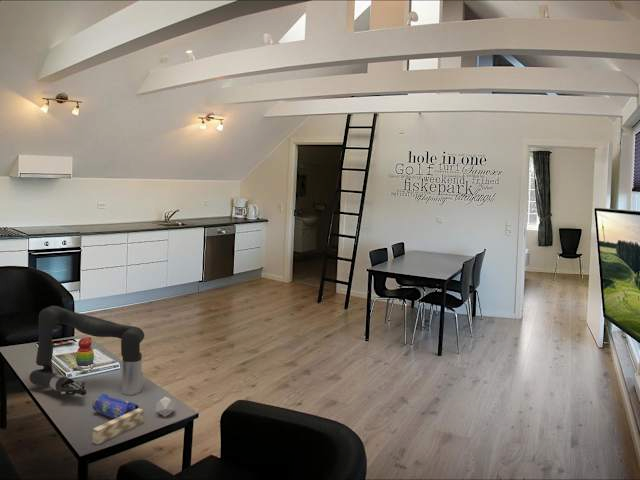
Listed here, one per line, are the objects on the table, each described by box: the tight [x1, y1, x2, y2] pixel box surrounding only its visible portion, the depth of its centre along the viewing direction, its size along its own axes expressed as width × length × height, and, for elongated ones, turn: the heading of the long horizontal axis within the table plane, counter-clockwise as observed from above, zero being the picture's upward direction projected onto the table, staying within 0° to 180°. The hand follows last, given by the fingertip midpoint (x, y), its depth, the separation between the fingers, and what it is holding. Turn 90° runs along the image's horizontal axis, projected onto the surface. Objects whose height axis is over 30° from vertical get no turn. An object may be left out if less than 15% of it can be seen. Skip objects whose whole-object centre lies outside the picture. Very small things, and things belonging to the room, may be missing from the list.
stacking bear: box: [75, 336, 95, 366], centre depth 289 cm, size 11×10×18 cm
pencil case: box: [92, 393, 140, 419], centre depth 236 cm, size 22×9×10 cm, turn 64°
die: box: [155, 396, 175, 418], centre depth 241 cm, size 8×9×10 cm
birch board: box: [92, 407, 144, 445], centre depth 223 cm, size 24×3×6 cm, turn 151°
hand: (85, 393), depth 244 cm, fingers closed
